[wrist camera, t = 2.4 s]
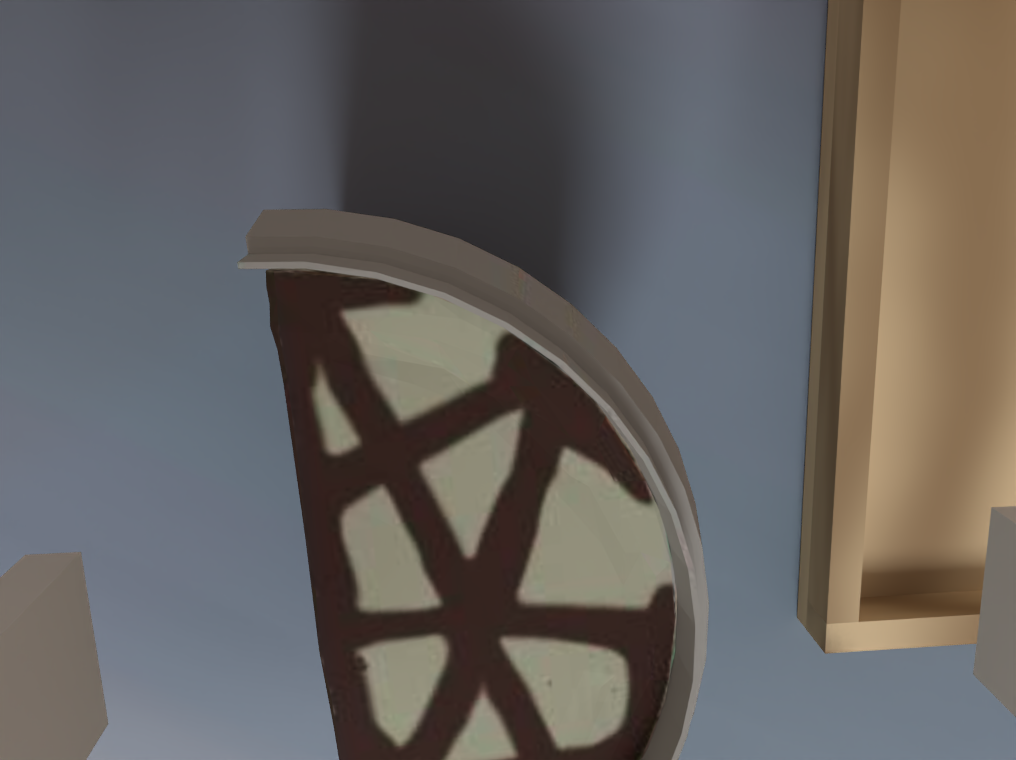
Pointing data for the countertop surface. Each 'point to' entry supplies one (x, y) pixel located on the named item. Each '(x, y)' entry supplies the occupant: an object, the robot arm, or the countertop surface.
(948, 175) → the tray
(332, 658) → the brown white half-round block
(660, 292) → the countertop surface
